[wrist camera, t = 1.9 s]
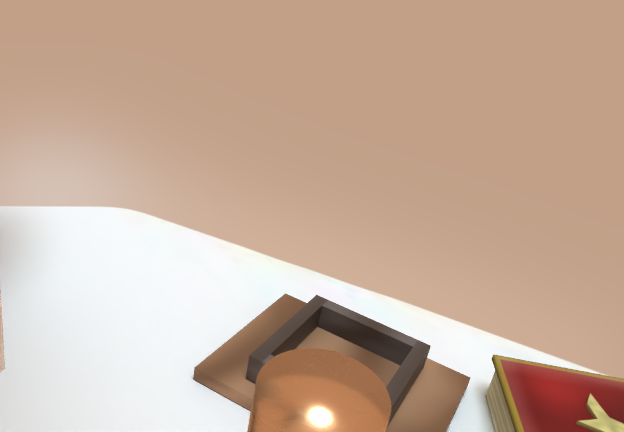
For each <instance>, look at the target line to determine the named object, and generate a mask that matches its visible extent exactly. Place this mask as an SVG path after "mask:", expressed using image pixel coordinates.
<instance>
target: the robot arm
mask: <svg viewBox="0 0 624 432" xmlns="http://www.w3.org/2000/svg"><path fill="white" fill-rule="evenodd" d="M3 369H5V362H4V344H3V327H2V309H1V292H0V372H1V371H2V370H3Z"/></svg>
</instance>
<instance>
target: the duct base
mask: <svg viewBox="0 0 624 432" xmlns="http://www.w3.org/2000/svg"><path fill="white" fill-rule="evenodd" d="M301 348H318V349H326V350H331V351H335V352H338V353H341V354H344V355H347V356H349V357H351V358H353V359H355V360H357V361H359V362H361V363H362V364H364V365H365V366H367V367H368V368H369V369H370V370H372V371H373V372H374V373H375V374H376V375H377V376H378V377H379V378H380V380H381V381H382V382H383V384H384V385H385V387H386V389H387V391H388V393H389V396H390V399H391V415H390V418H389V422H388V425H387V428H386V432H446V431H447V429H448V427H449V424H450V422H451V420H452V418H453V416H454V414H455V412H456V410H457V407H458V405H459V403H460V401H461V399H462V397H463V395H464V392H465V390H466V388H467V385H468V383H469V380H470V377H467V376H465V375H463V374H461V373H459V372H456V371H454V370H452V369H450V368H448V367H445V366H443V365H441V364H439V363H437V362H434V361H432V360H430V359H428V358H427V356H428V353H429V349H430V345H428V344H425V343H423V342H421V341H419V340H416V339H414V338H412V337H410V336H407V335H405V334H403V333H401V332H398V331H396V330H394V329H392V328H390V327H387V326H385V325H383V324H381V323H378V322H376V321H374V320H372V319H369V318H367V317H365V316H363V315H360V314H358V313H356V312H354V311H351V310H349V309H347V308H345V307H343V306H340V305H338V304H336V303H334V302H331V301H329V300H327V299H325V298H322V297H320V296H318V295H316V296H315V297H314V298H313V299H312V300H310V301H309V302H308V303H305V302H303V301H301V300H298V299H296V298H294V297H292V296H290V295H288V294H284V295H283V296H282V297H281V298H279V299H278V300H277V301H276V302H275V303H273V304H272V305H271V306H270V307H268V308H267V309H266V310H265V311H264V312H262V313H261V314H260V315H259V316H257V317H256V318H255V319H254V320H253V321H251V322H250V323H249V324H248V325H246V326H245V327H244V328H243V329H242V330H240V331H239V332H238V333H237V334H235V335H234V336H233V337H232V338H231V339H229V340H228V341H227V342H226V343H224V344H223V345H222V346H221V347H219V348H218V349H217V350H216V351H215V352H213V353H212V354H211V355H210V356H208V357H207V358H206V359H205V360H204V361H202V362H201V363H200V364H199V365H197V366H196V367H195V370H194V380H196V381H197V382H199V383H201V384H203V385H205V386H207V387H208V388H210V389H212V390H214V391H216V392H217V393H219V394H221V395H223V396H225V397H226V398H228V399H230V400H232V401H234V402H235V403H237V404H239V405H241V406H243V407H244V408H246V409H248V410H250V411H251V407H252V401H253V396H254V390H255V384H256V378H257V376H258V373H259V371H260V370H261V368H262V367H263V366H264V365H265V363H266V362H268V361H269V360H270V359H271V358H273V357H275V356H276V355H278V354H281V353H283V352H286V351H289V350H294V349H301Z"/></svg>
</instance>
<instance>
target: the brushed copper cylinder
mask: <svg viewBox="0 0 624 432" xmlns="http://www.w3.org/2000/svg"><path fill="white" fill-rule="evenodd" d="M390 415H391V399H390V396H389V393H388V391H387V389H386V387H385V385H384V384H383V382H382V381H381V380H380V378H379V377H378V376H377V375H376V374H375V373H374V372H373V371H372V370H370V369H369V368H368V367H367V366H365V365H364V364H362V363H361V362H359V361H357V360H355V359H353V358H351V357H349V356H347V355H344V354H341V353H338V352H335V351H331V350H326V349H318V348H301V349H294V350H289V351H286V352H283V353H281V354H278V355H276V356H275V357H273V358H271V359H270V360H269V361H268V362H266V363H265V365H264V366H263V367H262V368H261V370H260V371H259V373H258V376H257V378H256V384H255V390H254V396H253V401H252V407H251V413H250V419H249V425H248V431H247V432H386V428H387V425H388V422H389V418H390Z"/></svg>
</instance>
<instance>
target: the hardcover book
mask: <svg viewBox="0 0 624 432" xmlns="http://www.w3.org/2000/svg"><path fill="white" fill-rule="evenodd" d="M492 361H493V364H494V367H495V370H496V371H495V373H494V376H493V378H492V381H491V383H490V386H489V389H488V391H487V394H486V396H485V397H486V400H487V404H488V407H489V411H490V414H491V418H492V422H493V425H494V429H495V432H624V379H621V378H616V377H610V376H605V375H600V374H594V373H589V372H584V371H578V370H573V369H568V368H562V367H557V366H552V365H546V364H541V363H536V362H530V361H525V360H520V359H514V358H509V357H504V356H498V355H493V357H492Z"/></svg>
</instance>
